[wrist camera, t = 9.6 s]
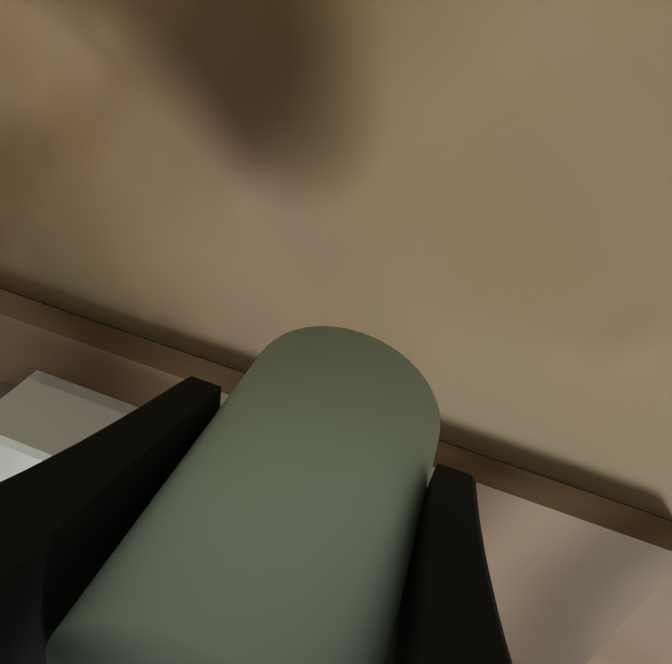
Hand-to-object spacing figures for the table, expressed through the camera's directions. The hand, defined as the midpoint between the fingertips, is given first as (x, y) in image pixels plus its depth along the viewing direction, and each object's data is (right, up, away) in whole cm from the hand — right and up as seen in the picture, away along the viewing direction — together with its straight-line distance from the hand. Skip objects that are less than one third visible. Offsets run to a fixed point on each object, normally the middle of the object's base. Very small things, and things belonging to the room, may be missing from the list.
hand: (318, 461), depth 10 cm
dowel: (0, +1, +1) cm, 2 cm away
